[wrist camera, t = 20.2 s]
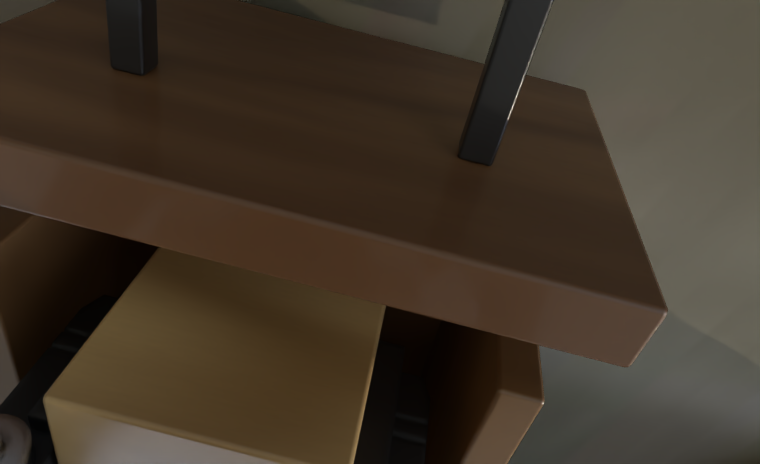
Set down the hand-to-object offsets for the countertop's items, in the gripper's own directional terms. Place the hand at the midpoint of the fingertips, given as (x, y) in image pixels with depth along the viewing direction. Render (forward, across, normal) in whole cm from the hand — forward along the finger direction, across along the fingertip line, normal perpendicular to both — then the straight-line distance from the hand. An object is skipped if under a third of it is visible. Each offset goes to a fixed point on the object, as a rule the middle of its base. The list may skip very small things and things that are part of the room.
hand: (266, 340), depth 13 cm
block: (+1, 0, 0) cm, 1 cm away
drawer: (+5, 0, -1) cm, 5 cm away
